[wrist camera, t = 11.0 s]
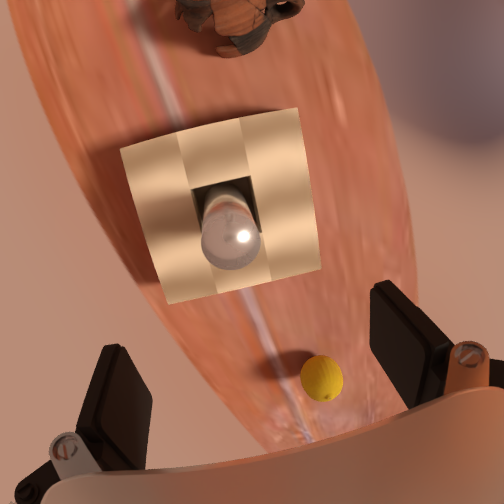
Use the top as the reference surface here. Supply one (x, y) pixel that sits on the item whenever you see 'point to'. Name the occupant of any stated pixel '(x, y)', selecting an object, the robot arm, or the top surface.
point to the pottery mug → (237, 20)
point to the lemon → (321, 378)
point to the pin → (228, 228)
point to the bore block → (240, 174)
